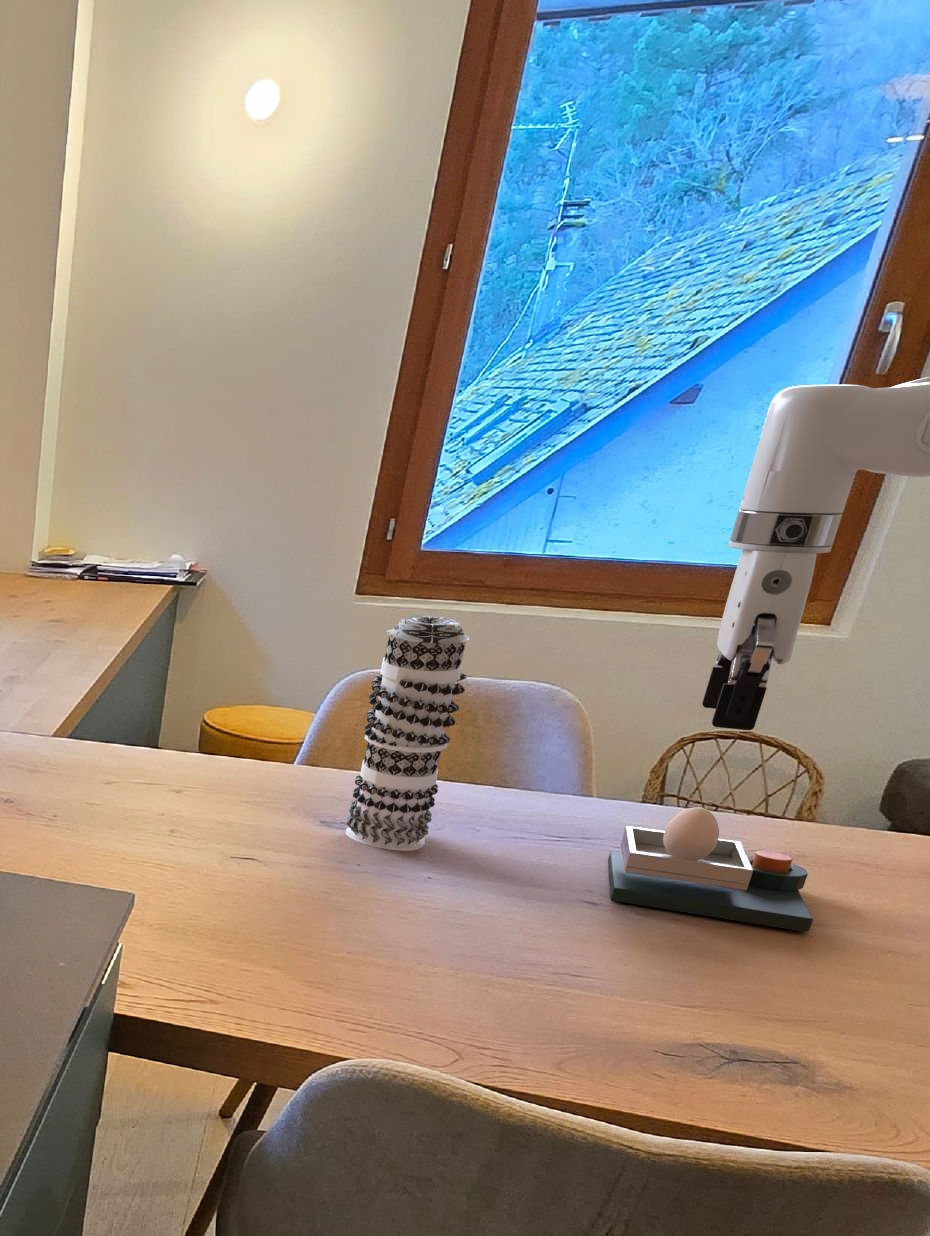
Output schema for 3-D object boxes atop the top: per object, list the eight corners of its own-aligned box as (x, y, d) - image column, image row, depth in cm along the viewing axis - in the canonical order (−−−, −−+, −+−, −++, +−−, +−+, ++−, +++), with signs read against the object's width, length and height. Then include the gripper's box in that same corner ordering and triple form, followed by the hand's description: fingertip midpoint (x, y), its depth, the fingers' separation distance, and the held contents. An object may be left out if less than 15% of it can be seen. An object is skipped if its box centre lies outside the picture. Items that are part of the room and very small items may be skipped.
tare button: (785, 867, 122) (790, 853, 122) (790, 876, 120) (795, 862, 119) (749, 862, 124) (754, 848, 123) (753, 871, 121) (758, 856, 121)
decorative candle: (446, 843, 136) (499, 622, 125) (394, 860, 132) (443, 633, 121) (376, 819, 143) (420, 608, 132) (324, 834, 139) (365, 617, 128)
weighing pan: (734, 860, 123) (741, 841, 122) (746, 890, 115) (753, 870, 114) (620, 844, 128) (625, 825, 127) (624, 872, 120) (630, 852, 119)
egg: (685, 871, 119) (703, 817, 116) (646, 855, 123) (662, 803, 120) (720, 866, 120) (738, 812, 117) (680, 850, 124) (697, 798, 121)
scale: (792, 890, 124) (802, 862, 123) (814, 933, 113) (825, 904, 112) (606, 862, 131) (614, 836, 130) (610, 900, 121) (618, 872, 120)
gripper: (853, 542, 100) (787, 741, 107) (818, 528, 114) (762, 706, 121) (744, 537, 104) (686, 731, 110) (723, 525, 118) (673, 697, 124)
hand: (726, 718), depth 115 cm, fingers open, 9 cm apart
